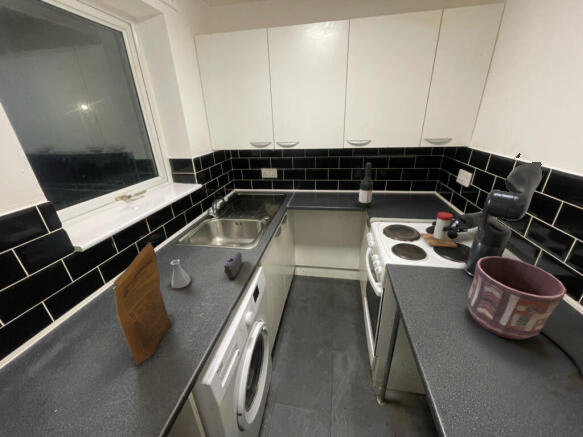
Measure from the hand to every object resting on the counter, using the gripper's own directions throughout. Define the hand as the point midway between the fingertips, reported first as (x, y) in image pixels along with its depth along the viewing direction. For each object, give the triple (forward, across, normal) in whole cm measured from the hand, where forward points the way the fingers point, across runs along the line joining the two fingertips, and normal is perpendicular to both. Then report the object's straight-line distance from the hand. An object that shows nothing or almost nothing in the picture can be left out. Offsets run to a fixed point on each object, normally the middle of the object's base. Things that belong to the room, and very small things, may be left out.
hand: (437, 226), depth 110 cm
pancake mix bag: (+120, +24, +6) cm, 122 cm away
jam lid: (-2, 0, -6) cm, 6 cm away
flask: (+118, -2, +6) cm, 118 cm away
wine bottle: (+8, -53, +8) cm, 54 cm away
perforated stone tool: (+96, -4, +7) cm, 97 cm away
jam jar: (-2, 0, +6) cm, 6 cm away
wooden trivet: (-2, 0, +8) cm, 8 cm away
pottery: (+20, +45, +8) cm, 50 cm away
